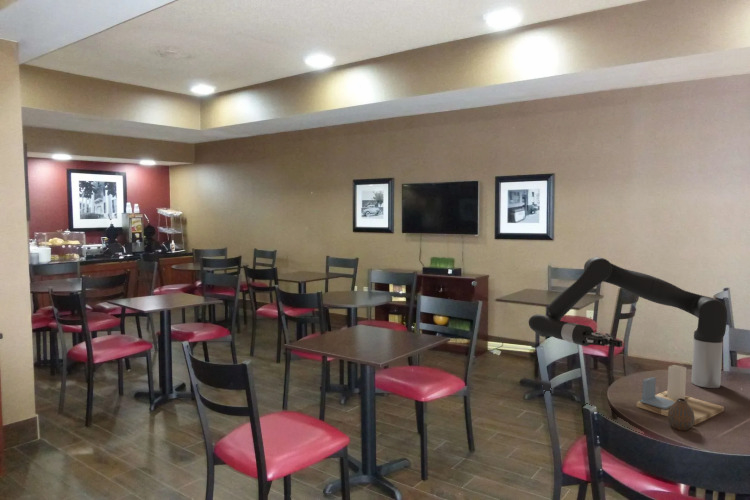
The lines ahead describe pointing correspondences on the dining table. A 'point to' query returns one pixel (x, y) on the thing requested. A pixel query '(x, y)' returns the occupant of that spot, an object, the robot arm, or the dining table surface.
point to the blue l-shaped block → (653, 395)
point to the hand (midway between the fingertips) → (621, 344)
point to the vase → (681, 415)
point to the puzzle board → (699, 407)
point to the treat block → (676, 382)
